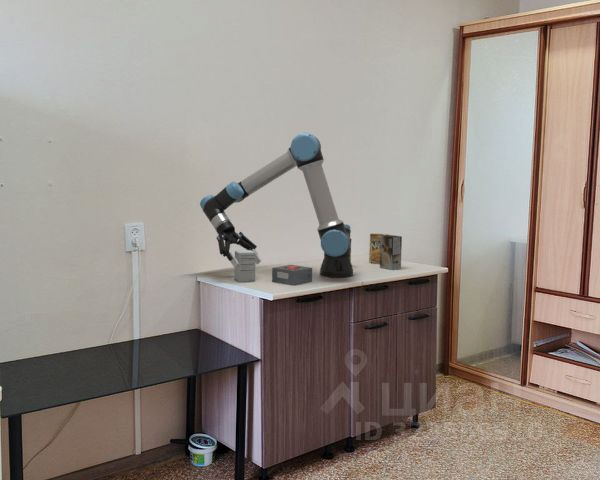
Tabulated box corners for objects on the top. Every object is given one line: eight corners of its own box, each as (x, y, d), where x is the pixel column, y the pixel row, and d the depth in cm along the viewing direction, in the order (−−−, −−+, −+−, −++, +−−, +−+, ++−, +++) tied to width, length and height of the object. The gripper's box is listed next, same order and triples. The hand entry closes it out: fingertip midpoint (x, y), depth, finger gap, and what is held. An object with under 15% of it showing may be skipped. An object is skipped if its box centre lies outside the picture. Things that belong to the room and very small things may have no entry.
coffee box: (401, 269, 298) (402, 236, 296) (392, 270, 294) (393, 236, 293) (388, 266, 305) (389, 234, 304) (378, 267, 302) (379, 235, 300)
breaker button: (291, 276, 262) (291, 265, 261) (299, 278, 259) (299, 266, 258) (284, 278, 258) (284, 266, 258) (292, 279, 256) (293, 267, 255)
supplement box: (234, 279, 262) (234, 250, 260) (250, 278, 264) (251, 249, 263) (238, 282, 255) (238, 252, 253) (255, 281, 257) (256, 252, 256)
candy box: (368, 263, 316) (369, 233, 314) (371, 262, 320) (372, 232, 318) (385, 264, 312) (385, 234, 310) (387, 263, 316) (388, 233, 314)
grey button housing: (290, 278, 267) (290, 264, 266) (312, 281, 260) (312, 267, 259) (271, 281, 258) (271, 267, 257) (293, 285, 250) (293, 271, 250)
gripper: (239, 229, 277) (263, 266, 269) (197, 233, 257) (222, 273, 250) (247, 218, 273) (272, 255, 265) (206, 221, 254) (231, 261, 246)
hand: (248, 264), depth 257 cm, fingers open, 13 cm apart
